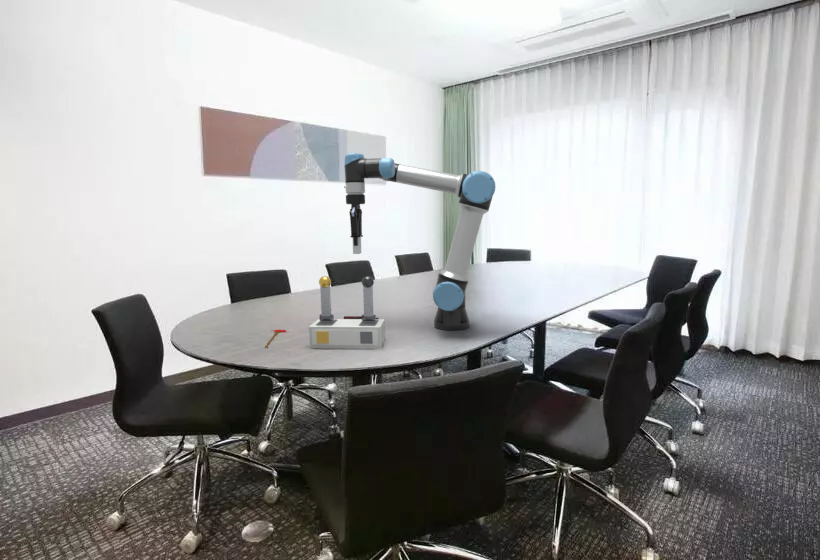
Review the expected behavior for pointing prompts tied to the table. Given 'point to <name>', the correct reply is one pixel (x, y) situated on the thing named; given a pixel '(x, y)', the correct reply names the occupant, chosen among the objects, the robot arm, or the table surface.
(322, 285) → the lever amber
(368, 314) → the lever black
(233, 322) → the table surface
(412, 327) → the table surface
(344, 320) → the console
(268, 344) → the axe
